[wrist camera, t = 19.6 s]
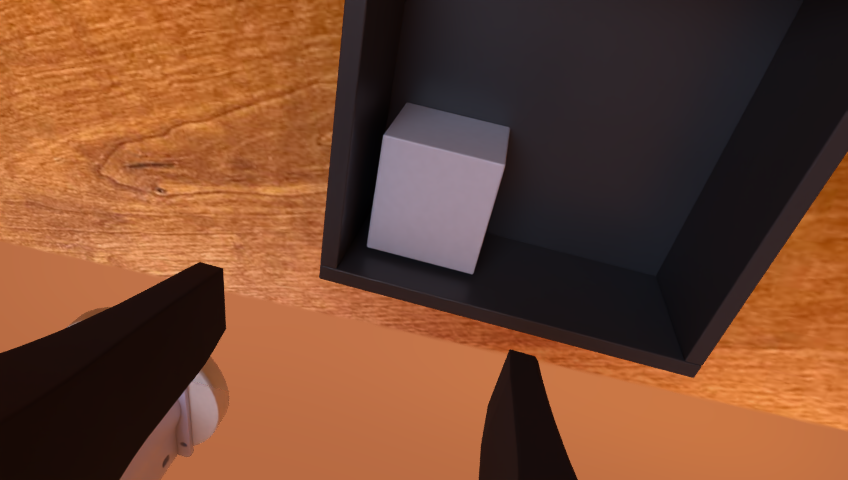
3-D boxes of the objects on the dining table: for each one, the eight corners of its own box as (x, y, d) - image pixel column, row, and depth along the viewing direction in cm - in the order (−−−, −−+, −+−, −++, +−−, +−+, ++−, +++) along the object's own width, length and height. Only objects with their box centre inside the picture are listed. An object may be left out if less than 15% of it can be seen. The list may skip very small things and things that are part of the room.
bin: (661, 283, 22) (694, 378, 18) (362, 206, 23) (318, 278, 18) (857, -74, 15) (999, -71, 10) (414, -169, 16) (363, -205, 11)
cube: (481, 226, 22) (473, 275, 19) (389, 202, 22) (366, 247, 19) (510, 127, 19) (505, 165, 16) (406, 101, 20) (382, 134, 17)
